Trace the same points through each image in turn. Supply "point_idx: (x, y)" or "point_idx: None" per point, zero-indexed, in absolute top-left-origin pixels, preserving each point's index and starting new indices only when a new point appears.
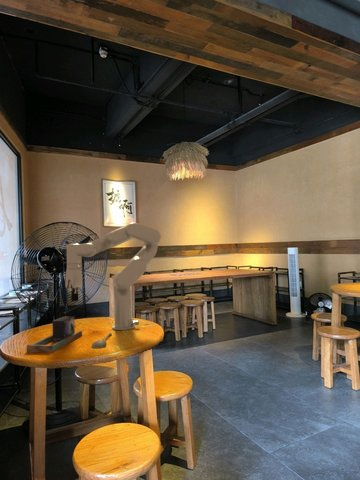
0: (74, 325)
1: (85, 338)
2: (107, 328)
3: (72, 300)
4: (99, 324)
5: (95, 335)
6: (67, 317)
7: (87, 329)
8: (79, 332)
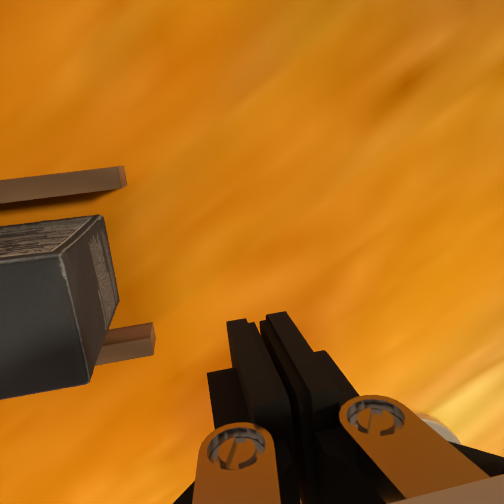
0: (104, 339)
1: (98, 407)
2: (365, 389)
3: (230, 345)
4: (470, 262)
5: (183, 423)
6: (5, 350)
7: (323, 264)
8: (115, 359)
